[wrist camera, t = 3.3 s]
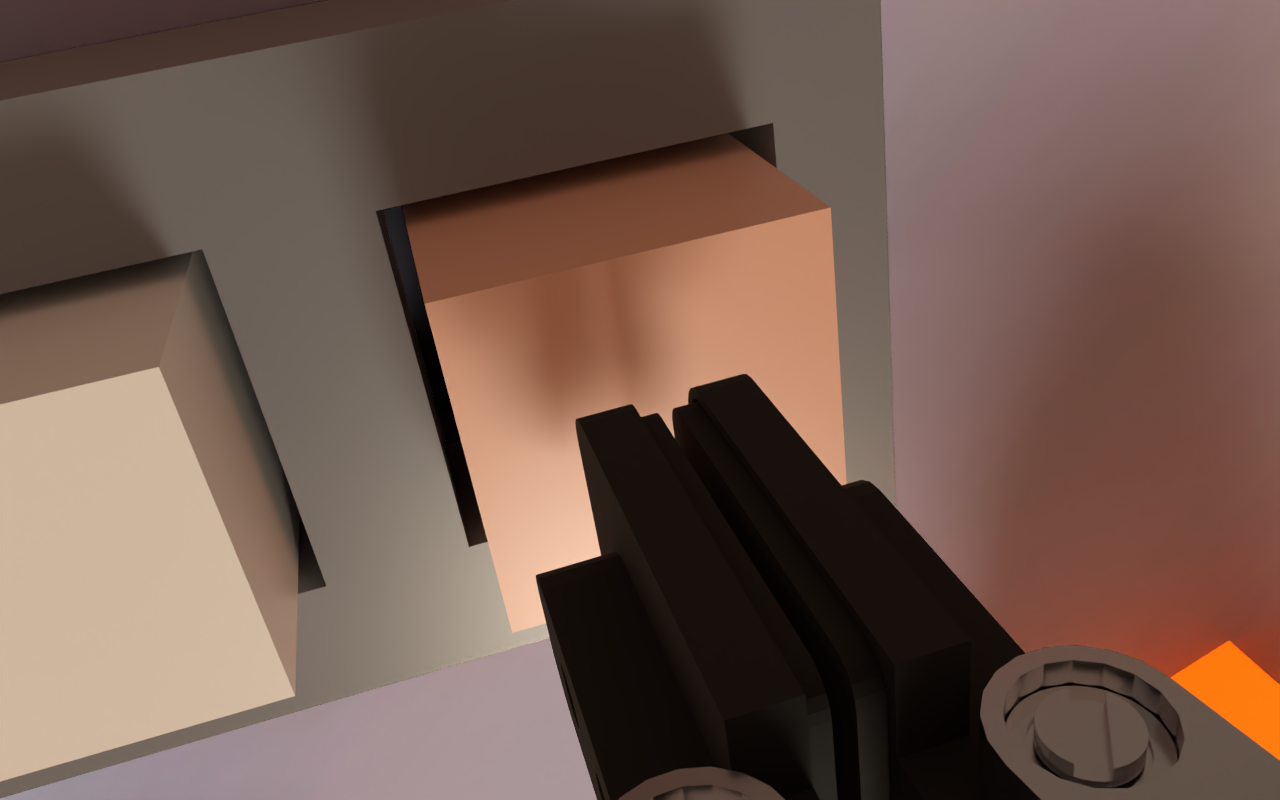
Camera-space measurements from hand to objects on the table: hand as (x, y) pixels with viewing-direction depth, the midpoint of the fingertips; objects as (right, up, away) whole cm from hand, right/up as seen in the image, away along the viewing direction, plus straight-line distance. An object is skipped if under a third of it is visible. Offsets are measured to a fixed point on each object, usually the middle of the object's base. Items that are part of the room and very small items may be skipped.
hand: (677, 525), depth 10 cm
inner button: (-1, +3, +5) cm, 6 cm away
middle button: (-8, +1, +4) cm, 9 cm away
